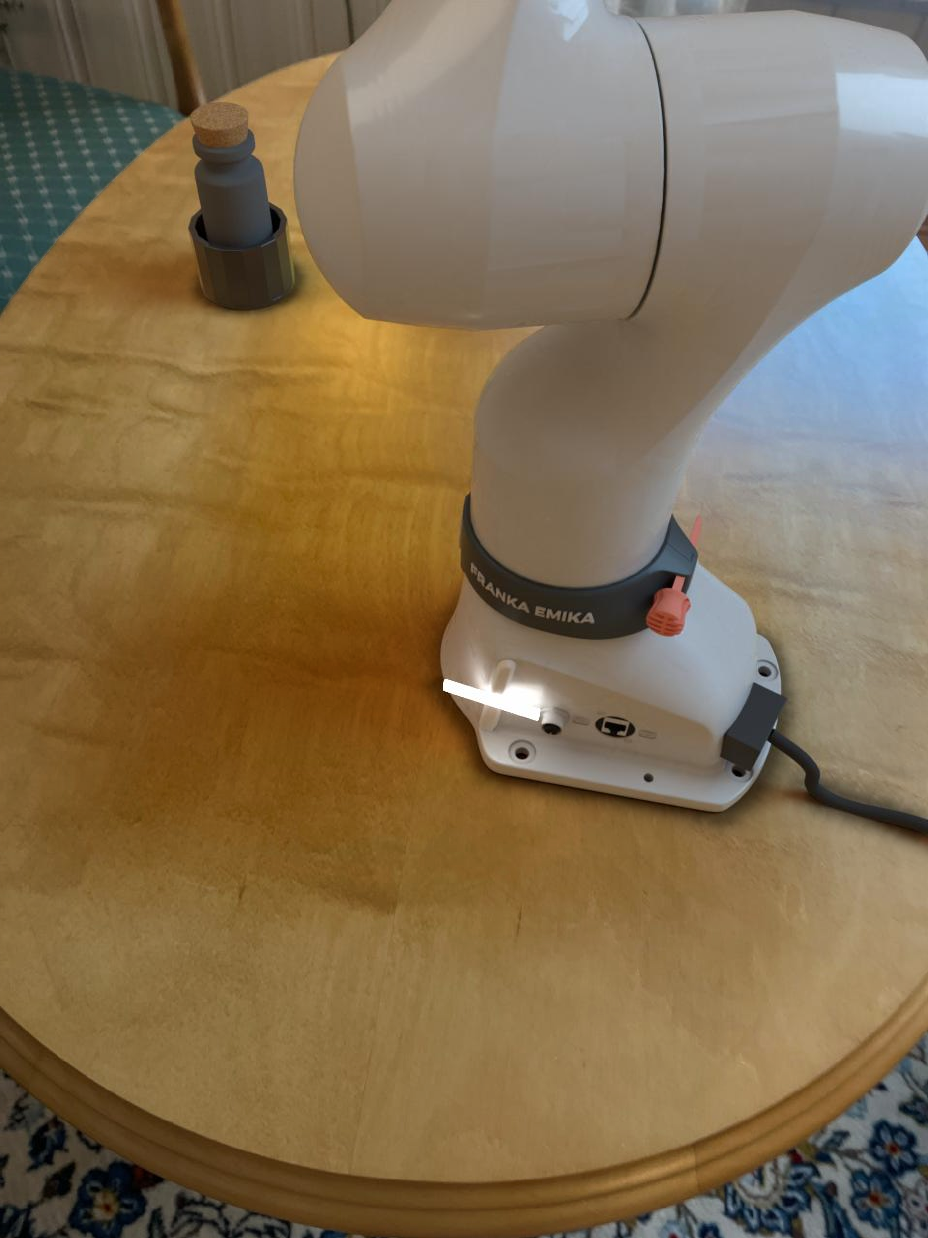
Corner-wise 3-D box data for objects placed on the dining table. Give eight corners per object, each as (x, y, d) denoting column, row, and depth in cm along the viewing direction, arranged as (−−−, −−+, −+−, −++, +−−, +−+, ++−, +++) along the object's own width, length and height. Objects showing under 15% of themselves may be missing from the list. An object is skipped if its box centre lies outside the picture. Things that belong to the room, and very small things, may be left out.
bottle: (267, 300, 89) (241, 135, 77) (206, 291, 90) (171, 127, 78) (287, 264, 92) (265, 102, 80) (228, 256, 93) (198, 94, 81)
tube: (310, 269, 93) (303, 209, 88) (266, 319, 88) (256, 259, 83) (231, 248, 95) (220, 189, 90) (184, 296, 90) (169, 236, 85)
